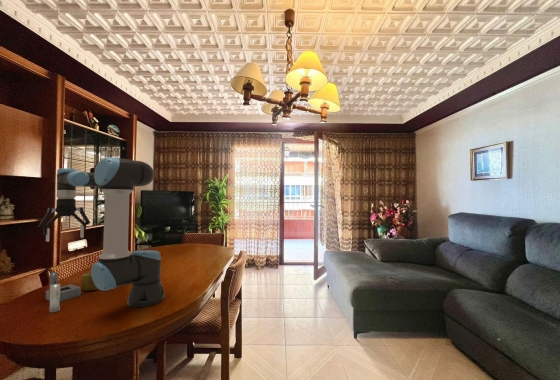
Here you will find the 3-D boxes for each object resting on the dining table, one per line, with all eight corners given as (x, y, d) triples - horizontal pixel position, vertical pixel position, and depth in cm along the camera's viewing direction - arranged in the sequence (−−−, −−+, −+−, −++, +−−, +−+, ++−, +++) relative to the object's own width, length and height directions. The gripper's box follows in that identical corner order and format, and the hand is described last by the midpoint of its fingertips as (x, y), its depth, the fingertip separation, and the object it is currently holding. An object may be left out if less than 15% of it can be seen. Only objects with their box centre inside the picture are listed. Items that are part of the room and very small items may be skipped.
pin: (61, 310, 104) (61, 284, 105) (51, 313, 102) (51, 286, 102) (58, 308, 106) (58, 283, 106) (48, 311, 103) (48, 285, 104)
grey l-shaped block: (80, 295, 120) (81, 275, 120) (54, 303, 111) (54, 281, 112) (64, 289, 129) (64, 270, 130) (39, 295, 120) (39, 275, 121)
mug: (92, 290, 122) (91, 269, 125) (76, 295, 124) (76, 275, 127) (114, 286, 134) (113, 268, 137) (99, 291, 136) (98, 272, 139)
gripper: (92, 198, 139) (92, 235, 138) (30, 198, 118) (29, 242, 117) (97, 198, 134) (97, 236, 133) (34, 198, 114) (33, 244, 113)
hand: (65, 239), depth 125 cm, fingers open, 13 cm apart
